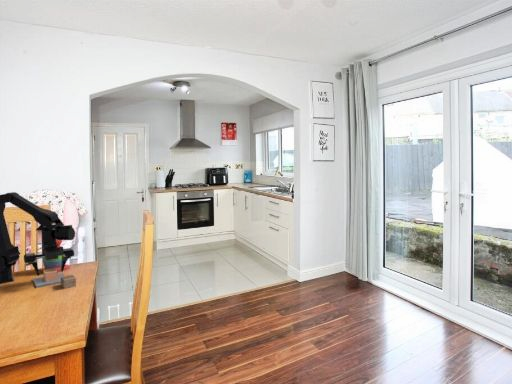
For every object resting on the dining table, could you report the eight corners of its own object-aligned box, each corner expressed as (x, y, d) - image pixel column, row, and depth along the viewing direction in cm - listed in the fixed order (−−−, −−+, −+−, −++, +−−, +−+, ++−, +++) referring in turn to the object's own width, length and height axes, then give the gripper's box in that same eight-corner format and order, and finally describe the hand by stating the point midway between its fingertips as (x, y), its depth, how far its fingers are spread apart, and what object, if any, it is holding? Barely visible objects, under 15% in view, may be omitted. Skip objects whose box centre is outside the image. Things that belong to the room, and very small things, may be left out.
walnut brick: (60, 285, 139) (60, 276, 139) (72, 283, 142) (71, 274, 142) (64, 289, 135) (64, 280, 135) (76, 286, 138) (75, 277, 138)
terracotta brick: (43, 278, 145) (43, 269, 144) (55, 276, 148) (54, 268, 147) (45, 282, 140) (45, 273, 140) (57, 279, 143) (57, 271, 143)
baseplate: (33, 280, 145) (33, 278, 145) (63, 274, 152) (63, 273, 152) (36, 287, 136) (36, 286, 136) (68, 281, 143) (68, 279, 143)
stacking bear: (71, 267, 163) (70, 233, 162) (57, 274, 153) (56, 238, 152) (52, 266, 164) (51, 233, 163) (37, 273, 154) (35, 237, 153)
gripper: (25, 246, 130) (27, 283, 132) (76, 240, 143) (77, 274, 144) (22, 241, 139) (24, 276, 140) (71, 236, 151) (72, 267, 152)
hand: (50, 273), depth 144 cm, fingers open, 9 cm apart
